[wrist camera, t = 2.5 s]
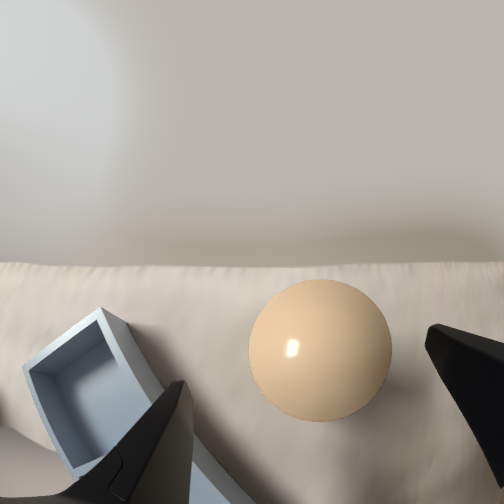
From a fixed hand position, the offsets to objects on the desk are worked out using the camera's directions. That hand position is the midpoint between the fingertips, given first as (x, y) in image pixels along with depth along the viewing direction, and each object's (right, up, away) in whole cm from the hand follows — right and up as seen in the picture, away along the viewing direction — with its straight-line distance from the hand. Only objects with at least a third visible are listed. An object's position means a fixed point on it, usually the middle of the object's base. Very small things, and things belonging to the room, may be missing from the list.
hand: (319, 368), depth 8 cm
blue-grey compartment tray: (-8, -12, +4) cm, 15 cm away
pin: (0, -4, +8) cm, 9 cm away
